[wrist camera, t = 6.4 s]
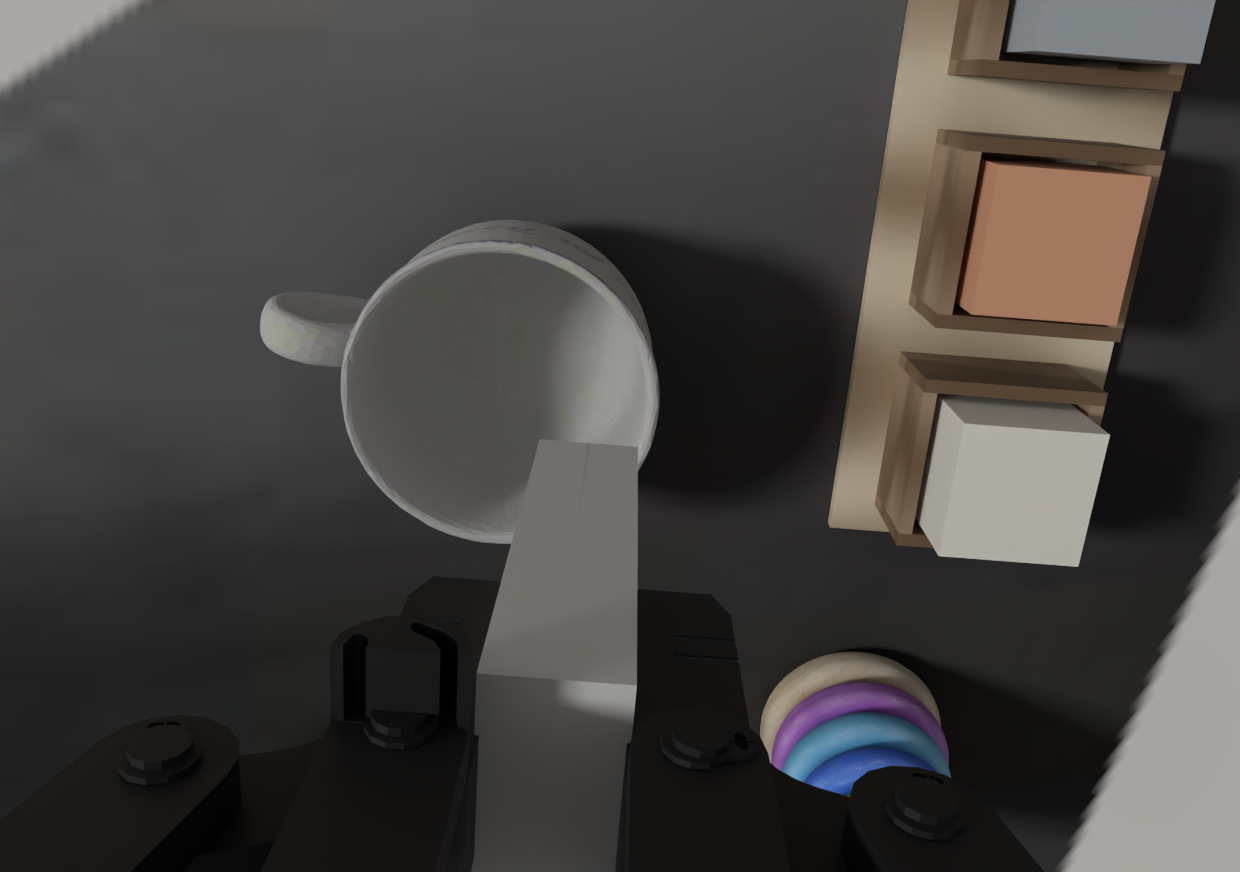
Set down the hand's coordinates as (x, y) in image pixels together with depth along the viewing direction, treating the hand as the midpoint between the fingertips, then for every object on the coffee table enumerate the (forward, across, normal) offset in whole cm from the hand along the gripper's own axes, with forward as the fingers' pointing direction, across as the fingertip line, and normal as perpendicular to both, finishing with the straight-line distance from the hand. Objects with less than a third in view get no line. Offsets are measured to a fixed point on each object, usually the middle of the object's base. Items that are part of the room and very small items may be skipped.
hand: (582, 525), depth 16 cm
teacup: (+27, +5, +4) cm, 27 cm away
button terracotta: (+25, -15, -2) cm, 29 cm away
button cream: (+23, -15, +6) cm, 28 cm away
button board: (+26, -15, -2) cm, 30 cm away
